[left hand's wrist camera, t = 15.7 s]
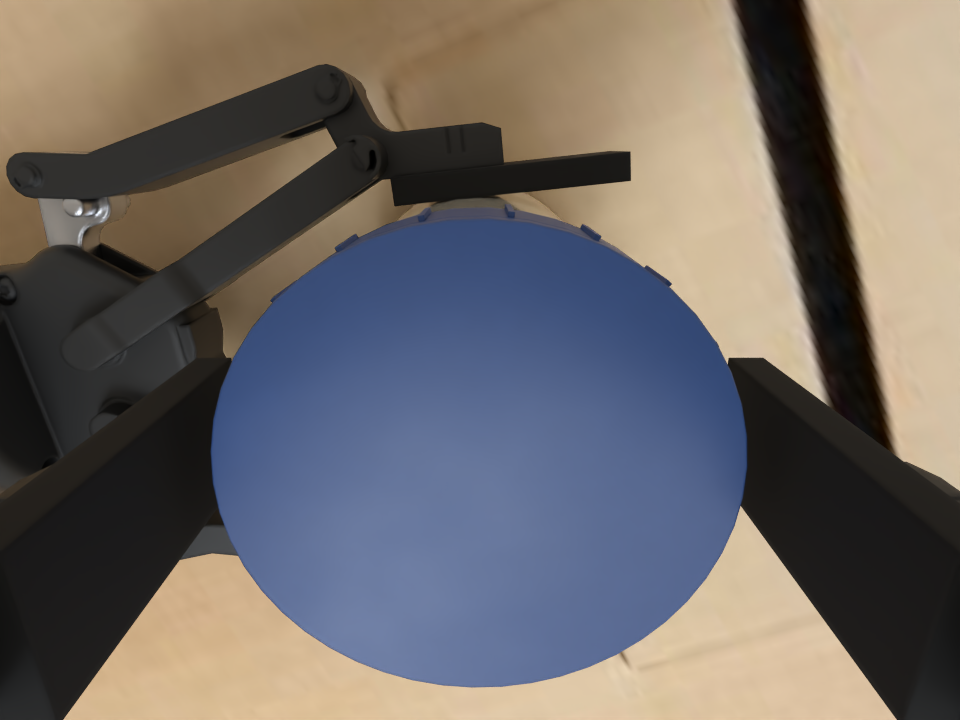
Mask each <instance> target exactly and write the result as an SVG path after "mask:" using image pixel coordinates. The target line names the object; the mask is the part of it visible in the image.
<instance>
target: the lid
mask: <svg viewBox="0 0 960 720" xmlns="http://www.w3.org/2000/svg"><path fill="white" fill-rule="evenodd" d="M600 238H601V236H600V235H599V234H598V233H596V232H595V231H593V230H592V229H591V228H589V227H588V226H586V225H584V224H582V226H581V228H578V227H575V226H573V225H570V224H568V223H565V222H562V221H560V220H557V219H554V218H550V217H546V216H542V215H538V214H533V213H529V212H525V211H519V210H514V209H513V207H512V206H511V204H505V209H499V208H489V207H483V208H454V209H447V210H441V211H436V212H431V208H430V207H428V208H425V209H424V210H423V211H422V212H421V213H420V214H418V215H415V216H412V217H409V218H406V219H403V220H399V221H396V222H393V223H390V224H387V225H384V226H382V227H380V228H378V229H376V230H374V231H372V232H370V233H368V234H366V235H363V236H361V237H359V238H358V236H357V235H356V234H355V235H353V236H351V237H350V238H348V239H347V240H345V241H344V242H342V243H341V244H339V245H338V246H336V247H335V249H336V251H337V252H336V253H334V254H333V255H331V256H330V257H328V258H327V259H325V260H324V261H322V262H321V263H320V264H318V265H317V266H316V267H314V268H313V269H311V270H310V271H309V272H307V273H306V274H304V275H303V276H302V277H300V278H299V279H298V280H296V281H295V282H293V283H292V284H291V285H289V286H288V287H286V288H285V289H284V290H282V291H281V292H279V293H278V294H277V295H275V296H274V297H273V298H272V299H271V300H270V301H271V302H272V304H271V305H270V307H269V308H268V309H267V310H266V311H265V313H264V314H263V315H262V316H261V317H260V318H259V320H258V321H257V322H256V323H255V324H254V326H253V327H252V328H251V330H250V331H249V333H248V335H247V336H246V338H245V340H244V341H243V343H242V344H241V346H240V348H239V349H238V351H237V353H236V354H235V356H234V358H233V360H232V363H231V365H230V367H229V370H228V372H227V375H226V377H225V380H224V382H223V384H222V387H221V390H220V394H219V398H218V402H217V406H216V411H215V415H214V419H213V429H212V441H211V464H212V478H213V486H214V490H215V495H216V499H217V504H218V508H219V513H220V515H221V518H222V521H223V523H224V526H225V529H226V531H227V534H228V536H229V539H230V541H231V543H232V545H233V547H234V549H235V551H236V552H237V554H238V556H239V558H240V560H241V562H242V563H243V565H244V567H245V568H246V570H247V571H248V572H249V574H250V575H251V577H252V578H253V579H254V581H255V582H256V583H257V585H258V586H259V588H260V589H261V590H262V591H263V592H264V594H265V595H266V596H267V597H268V598H269V599H270V600H271V601H272V602H273V603H274V604H275V605H276V606H277V607H278V608H279V609H280V611H281V612H282V613H284V614H285V615H286V616H287V617H288V618H290V619H291V620H292V621H293V622H294V623H296V624H297V625H298V626H299V627H300V628H301V629H303V630H304V631H305V632H307V633H308V634H310V635H311V636H313V637H314V638H316V639H317V640H319V641H320V642H322V643H323V644H325V645H326V646H328V647H329V648H331V649H333V650H335V651H337V652H339V653H341V654H343V655H345V656H347V657H349V658H351V659H353V660H354V661H357V662H359V663H362V664H364V665H367V666H369V667H372V668H374V669H377V670H380V671H382V672H385V673H389V674H392V675H396V676H400V677H403V678H407V679H410V680H415V681H421V682H427V683H432V684H438V685H447V686H460V687H503V686H511V685H519V684H527V683H534V682H538V681H542V680H547V679H551V678H556V677H560V676H563V675H566V674H569V673H572V672H575V671H578V670H581V669H584V668H587V667H590V666H592V665H594V664H597V663H599V662H601V661H603V660H606V659H608V658H610V657H612V656H614V655H617V654H618V653H620V652H622V651H623V650H625V649H627V648H628V647H630V646H632V645H634V644H635V643H637V642H639V641H640V640H642V639H643V638H645V637H646V636H647V635H649V634H650V633H651V632H653V631H654V630H655V629H657V628H658V627H659V626H661V625H662V624H663V623H665V622H666V621H667V620H668V619H669V618H670V617H671V616H672V615H673V614H674V613H675V612H677V611H678V610H679V609H680V608H681V607H682V606H683V605H684V604H685V603H686V602H687V601H688V600H689V599H690V597H691V596H692V595H693V594H694V593H695V591H696V590H697V589H698V588H699V586H700V585H701V584H702V583H703V582H704V580H705V579H706V578H707V576H708V575H709V573H710V571H711V570H712V568H713V567H714V565H715V564H716V562H717V560H718V559H719V557H720V556H721V554H722V552H723V550H724V548H725V546H726V543H727V541H728V539H729V537H730V535H731V532H732V530H733V528H734V526H735V522H736V519H737V515H738V512H739V509H740V505H741V502H742V499H743V493H744V486H745V479H746V472H747V433H746V427H745V421H744V414H743V408H742V403H741V400H740V397H739V394H738V391H737V388H736V385H735V382H734V379H733V375H732V373H731V371H730V369H729V367H728V365H727V363H726V361H725V359H724V357H723V355H722V353H721V351H720V349H719V346H718V344H717V342H716V341H715V340H714V339H713V337H712V336H711V335H710V333H709V332H708V330H707V329H706V328H705V326H704V325H703V323H702V322H701V321H700V319H699V318H698V316H697V315H696V314H695V313H694V312H693V311H692V310H691V309H690V308H689V307H688V306H687V304H686V303H685V302H684V301H683V300H682V299H681V298H680V297H679V296H678V295H677V294H676V293H675V292H674V291H673V290H672V289H671V288H670V287H669V286H670V285H671V284H672V283H671V282H669V281H668V280H667V279H666V278H664V277H663V276H661V275H660V274H659V273H657V272H656V271H654V270H653V269H651V268H650V267H649V266H645V268H644V267H642V266H641V265H640V264H638V263H637V262H635V261H634V260H633V259H631V258H630V257H629V256H627V255H626V254H625V253H623V252H622V251H620V250H619V249H618V248H616V247H614V246H613V245H611V244H609V243H607V242H606V241H604V240H602V239H600Z"/></svg>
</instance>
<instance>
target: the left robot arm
mask: <svg viewBox="0 0 960 720" xmlns="http://www.w3.org/2000/svg"><path fill="white" fill-rule="evenodd" d="M231 363H232V360H231V358H196V359H195V360H193V361H192V362H191V363H189V364H188V365H187V366H185V367H184V368H183V369H181V370H180V371H178V372H177V373H176V374H174V375H173V376H172V377H170V378H169V379H168V380H166V381H165V382H164V383H162V384H161V385H160V386H158V387H157V388H155V389H154V390H153V391H151V392H150V393H149V394H147V395H146V396H145V397H143V398H142V399H141V400H139V401H138V402H137V403H135V404H134V405H133V406H131V407H130V408H128V409H127V410H126V411H124V412H123V413H122V414H120V415H119V416H118V417H116V418H115V419H114V420H112V421H111V422H110V423H108V424H107V425H105V426H104V427H103V428H101V429H100V430H99V431H97V432H96V433H95V434H93V435H92V436H91V437H89V438H88V439H87V440H85V441H84V442H82V443H81V444H80V445H78V446H77V447H76V448H74V449H73V450H72V451H70V452H69V453H68V454H66V455H65V456H64V457H62V458H61V459H59V460H58V461H57V462H55V463H54V464H53V465H51V466H49V467H46V468H44V469H42V470H40V471H38V472H36V473H34V474H32V475H29V476H27V477H25V478H23V479H21V480H19V481H18V482H16V483H15V484H14V485H12V486H11V487H9V488H8V489H7V490H5V491H4V492H2V493H1V494H0V720H63V719H64V718H65V716H66V715H67V714H68V712H69V711H70V710H71V708H72V707H73V705H74V704H75V703H76V701H77V700H78V699H79V697H80V696H81V694H82V693H83V692H84V690H85V689H86V688H87V686H88V685H89V683H90V682H91V681H92V679H93V678H94V677H95V675H96V674H97V673H98V671H99V670H100V668H101V667H102V666H103V664H104V663H105V662H106V660H107V659H108V657H109V656H110V655H111V653H112V652H113V651H114V649H115V648H116V646H117V645H118V644H119V642H120V641H121V640H122V638H123V637H124V636H125V634H126V633H127V631H128V630H129V629H130V627H131V626H132V625H133V623H134V622H135V620H136V619H137V618H138V616H139V615H140V614H141V612H142V611H143V609H144V608H145V607H146V605H147V604H148V603H149V601H150V600H151V599H152V597H153V596H154V594H155V593H156V592H157V590H158V589H159V588H160V586H161V585H162V583H163V582H164V581H165V579H166V578H167V577H168V575H169V574H170V573H171V571H172V570H173V568H174V567H175V566H176V564H177V563H178V562H179V560H180V559H181V557H182V556H183V555H184V553H185V552H186V551H187V549H188V548H189V546H190V545H191V544H192V542H193V541H194V540H195V538H196V537H197V536H198V534H199V533H200V531H201V530H202V529H203V527H204V526H205V525H206V523H207V522H208V520H209V519H210V518H211V516H212V515H213V514H214V512H215V511H216V509H217V508H218V504H217V499H216V495H215V490H214V486H213V478H212V464H211V441H212V429H213V419H214V415H215V411H216V406H217V402H218V398H219V394H220V390H221V387H222V384H223V382H224V380H225V377H226V375H227V372H228V370H229V367H230V365H231ZM728 367H729V369H730V371H731V373H732V375H733V379H734V382H735V385H736V388H737V391H738V394H739V397H740V400H741V403H742V408H743V414H744V421H745V427H746V433H747V472H746V479H745V486H744V493H743V499H742V502H741V507H742V508H743V509H744V511H745V512H746V514H747V515H748V516H749V518H750V519H751V520H752V522H753V523H754V525H755V526H756V527H757V529H758V530H759V531H760V533H761V534H762V536H763V537H764V538H765V540H766V541H767V542H768V544H769V545H770V546H771V548H772V549H773V551H774V552H775V553H776V555H777V556H778V557H779V559H780V560H781V562H782V563H783V564H784V566H785V567H786V568H787V570H788V571H789V573H790V574H791V575H792V577H793V578H794V579H795V581H796V582H797V583H798V585H799V586H800V588H801V589H802V590H803V592H804V593H805V594H806V596H807V597H808V599H809V600H810V601H811V603H812V604H813V605H814V607H815V608H816V609H817V611H818V612H819V614H820V615H821V616H822V618H823V619H824V620H825V622H826V623H827V625H828V626H829V627H830V629H831V630H832V631H833V633H834V634H835V636H836V637H837V638H838V640H839V641H840V642H841V644H842V645H843V646H844V648H845V649H846V651H847V652H848V653H849V655H850V656H851V657H852V659H853V660H854V662H855V663H856V664H857V666H858V667H859V668H860V670H861V671H862V673H863V674H864V675H865V677H866V678H867V679H868V681H869V682H870V683H871V685H872V686H873V688H874V689H875V690H876V692H877V693H878V694H879V696H880V697H881V699H882V700H883V701H884V703H885V704H886V705H887V707H888V708H889V710H890V711H891V712H892V714H893V715H894V716H895V718H896V719H897V720H960V491H959V490H957V489H956V488H954V487H953V486H952V485H950V484H949V483H947V482H946V481H945V480H943V479H942V478H940V477H938V476H936V475H934V474H932V473H929V472H927V471H925V470H923V469H921V468H919V467H917V466H914V465H912V464H910V463H908V462H903V461H902V460H900V459H899V458H898V457H896V456H895V455H894V454H892V453H891V452H890V451H888V450H887V449H886V448H884V447H883V446H882V445H880V444H879V443H878V442H876V441H875V440H873V439H872V438H871V437H869V436H868V435H867V434H865V433H864V432H863V431H861V430H860V429H859V428H857V427H856V426H855V425H853V424H852V423H850V422H849V421H848V420H846V419H845V418H844V417H842V416H841V415H840V414H838V413H837V412H836V411H834V410H833V409H832V408H830V407H829V406H827V405H826V404H825V403H823V402H822V401H821V400H819V399H818V398H817V397H815V396H814V395H813V394H811V393H810V392H809V391H807V390H806V389H805V388H803V387H802V386H800V385H799V384H798V383H796V382H795V381H794V380H792V379H791V378H790V377H788V376H787V375H786V374H784V373H783V372H782V371H780V370H779V369H777V368H776V367H775V366H773V365H772V364H771V363H769V362H768V361H767V360H765V359H764V358H729V360H728Z"/></svg>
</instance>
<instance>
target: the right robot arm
mask: <svg viewBox="0 0 960 720" xmlns="http://www.w3.org/2000/svg"><path fill="white" fill-rule="evenodd" d="M326 128H327V130H328V131H329V133H330V135H331V137H332V139H333V141H334V143H335V145H336V146H337V149H335V150H334V151H332V152H331V153H330V154H328V155H327V156H325V157H324V158H323V159H321V160H320V161H318V162H317V163H315V164H314V165H313V166H311V167H310V168H308V169H307V170H306V171H304V172H303V173H301V174H300V175H299V176H297V177H296V178H294V179H293V180H291V181H290V182H289V183H287V184H286V185H284V186H283V187H282V188H280V189H279V190H277V191H276V192H274V193H273V194H272V195H270V196H269V197H267V198H266V199H265V200H263V201H262V202H260V203H259V204H257V205H256V206H255V207H253V208H252V209H250V210H249V211H248V212H246V213H245V214H243V215H242V216H241V217H239V218H238V219H236V220H235V221H233V222H232V223H231V224H229V225H228V226H226V227H225V228H224V229H222V230H221V231H219V232H218V233H216V234H215V235H214V236H212V237H211V238H209V239H208V240H207V241H205V242H204V243H202V244H201V245H199V246H198V247H197V248H195V249H194V250H192V251H191V252H190V253H188V254H187V255H185V256H184V257H183V258H181V259H180V260H178V261H176V262H175V263H173V264H171V265H169V266H167V267H165V268H164V269H162V270H160V271H159V272H158V271H156V270H154V269H152V268H150V267H148V266H146V265H144V264H142V263H140V262H138V261H137V260H135V259H133V258H131V257H129V256H127V255H125V254H123V253H121V252H119V251H117V250H115V249H113V248H111V247H109V246H107V245H105V244H103V243H100V232H101V230H102V228H103V227H104V226H105V225H106V224H108V223H110V222H114V221H118V220H120V219H121V218H123V217H124V215H125V214H126V212H127V208H128V207H129V205H130V198H129V195H128V194H135V193H143V192H149V191H155V190H158V189H162V188H165V187H169V186H171V185H174V184H177V183H179V182H182V181H185V180H188V179H190V178H193V177H196V176H198V175H201V174H204V173H207V172H209V171H212V170H215V169H217V168H220V167H223V166H225V165H228V164H231V163H234V162H236V161H239V160H242V159H244V158H247V157H250V156H253V155H255V154H258V153H261V152H263V151H266V150H269V149H272V148H274V147H277V146H280V145H282V144H285V143H288V142H290V141H293V140H296V139H299V138H301V137H304V136H307V135H309V134H312V133H315V132H318V131H320V130H323V129H326ZM6 170H7V177H8V179H9V181H10V184H11V185H12V186H13V187H14V188H15V189H16V191H17V192H19V193H21V194H22V195H24V196H26V197H31V198H38V202H39V206H40V210H41V215H42V219H43V224H44V228H45V232H46V237H47V241H48V246H49V247H48V248H45V249H43V250H42V251H40V252H39V253H38V254H36V255H35V256H34V257H33V258H32V259H31V260H30V261H28V262H27V263H21V264H11V265H2V266H0V494H1V493H2V492H4V491H5V490H7V489H8V488H9V487H11V486H12V485H14V484H15V483H16V482H18V481H19V480H21V479H23V478H25V477H27V476H29V475H32V474H34V473H36V472H38V471H40V470H42V469H44V468H46V467H49V466H51V465H53V464H54V463H55V462H57V461H58V460H59V459H61V458H62V457H64V456H65V455H66V454H68V453H69V452H70V451H72V450H73V449H74V448H76V447H77V446H78V445H80V444H81V443H82V442H84V441H85V440H87V439H88V438H89V437H91V436H92V435H93V434H95V433H96V432H97V431H99V430H100V429H101V428H103V427H104V426H105V425H107V424H108V423H110V422H111V421H112V420H114V419H115V418H116V417H118V416H119V415H120V414H122V413H123V412H124V411H126V410H127V409H128V408H130V407H131V406H133V405H134V404H135V403H137V402H138V401H139V400H141V399H142V398H143V397H145V396H146V395H147V394H149V393H150V392H151V391H153V390H154V389H155V388H157V387H158V386H160V385H161V384H162V383H164V382H165V381H166V380H168V379H169V378H170V377H172V376H173V375H174V374H176V373H177V372H178V371H180V370H181V369H183V368H184V367H185V366H187V365H188V364H189V363H191V362H192V361H193V360H195V359H196V358H226V356H225V355H224V353H223V328H222V324H221V320H220V316H219V313H218V309H217V308H209V306H208V304H207V303H206V302H205V301H206V300H208V299H209V298H211V297H212V296H214V295H215V294H217V293H218V292H219V291H221V290H222V289H224V288H225V287H227V286H228V285H230V284H231V283H233V282H234V281H235V280H237V279H238V278H239V277H240V276H242V275H243V274H245V273H246V272H248V271H249V270H250V269H252V268H253V267H255V266H256V265H258V264H259V263H261V262H262V261H264V260H265V259H267V258H268V257H270V256H271V255H272V254H274V253H275V252H277V251H278V250H280V249H281V248H283V247H284V246H286V245H287V244H289V243H290V242H292V241H293V240H294V239H296V238H297V237H299V236H300V235H302V234H303V233H305V232H306V231H308V230H309V229H311V228H312V227H314V226H315V225H316V224H318V223H319V222H321V221H322V220H324V219H325V218H327V217H328V216H330V215H331V214H333V213H334V212H336V211H337V210H338V209H340V208H341V207H343V206H344V205H346V204H347V203H349V202H350V201H352V200H353V199H355V198H356V197H357V196H359V195H360V194H362V193H363V192H365V191H366V190H368V189H369V188H371V187H372V186H374V185H375V184H377V183H378V182H379V181H381V180H384V179H391V185H392V192H393V199H394V205H395V206H401V205H411V204H420V203H429V202H438V201H448V200H457V199H466V198H476V197H485V196H494V195H503V194H513V193H522V192H531V191H541V190H550V189H559V188H568V187H578V186H587V185H596V184H606V183H615V182H624V181H631V161H630V152H622V151H607V152H598V153H588V154H579V155H570V156H561V157H552V158H543V159H534V160H525V161H515V162H506V163H504V160H503V148H502V136H501V128H498V127H495V126H492V125H489V124H485V123H473V124H464V125H455V126H447V127H437V128H428V129H419V130H410V131H402V132H393V131H390V130H389V129H387V128H385V127H384V126H383V125H382V124H381V123H380V121H379V120H378V118H377V116H376V114H375V112H374V110H373V109H372V107H371V105H370V103H369V101H368V99H367V96H366V90H365V89H364V87H363V85H362V83H361V82H360V81H358V80H357V79H356V78H355V77H353V76H351V75H349V74H348V73H346V72H344V71H342V70H340V69H339V68H337V67H335V66H331V65H328V64H324V65H317V66H315V67H312V68H310V69H307V70H304V71H302V72H299V73H297V74H294V75H291V76H289V77H286V78H283V79H281V80H278V81H276V82H273V83H270V84H268V85H265V86H263V87H260V88H257V89H255V90H252V91H249V92H247V93H244V94H242V95H239V96H236V97H234V98H231V99H229V100H226V101H223V102H221V103H218V104H216V105H213V106H210V107H208V108H205V109H202V110H200V111H197V112H195V113H192V114H189V115H187V116H184V117H182V118H179V119H176V120H174V121H171V122H168V123H166V124H163V125H161V126H158V127H155V128H153V129H150V130H148V131H145V132H142V133H140V134H137V135H135V136H132V137H129V138H127V139H124V140H121V141H119V142H116V143H114V144H111V145H108V146H106V147H103V148H101V149H98V150H95V151H93V152H23V153H18V154H15V155H13V156H12V157H11V158H10V159H9V161H8V163H7V166H6ZM211 553H215V554H226V555H236V556H238V554H237V552H236V551H235V549H234V547H233V545H232V543H231V541H230V539H229V536H228V534H227V531H226V529H225V526H224V523H223V521H222V518H221V515H220V513H219V508H217V509H216V511H215V512H214V514H213V515H212V516H211V518H210V519H209V520H208V522H207V523H206V525H205V526H204V527H203V529H202V530H201V531H200V533H199V534H198V536H197V537H196V538H195V540H194V541H193V542H192V544H191V545H190V546H189V548H188V549H187V551H186V552H185V553H184V555H183V556H182V557H181V559H180V560H182V559H186V558H191V557H196V556H201V555H206V554H211Z"/></svg>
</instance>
